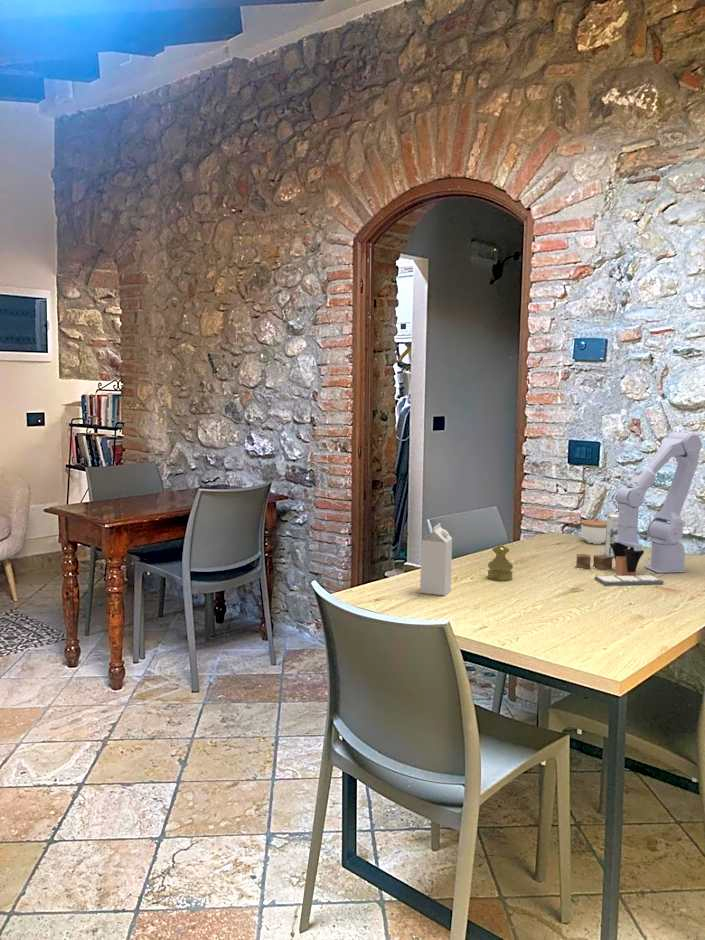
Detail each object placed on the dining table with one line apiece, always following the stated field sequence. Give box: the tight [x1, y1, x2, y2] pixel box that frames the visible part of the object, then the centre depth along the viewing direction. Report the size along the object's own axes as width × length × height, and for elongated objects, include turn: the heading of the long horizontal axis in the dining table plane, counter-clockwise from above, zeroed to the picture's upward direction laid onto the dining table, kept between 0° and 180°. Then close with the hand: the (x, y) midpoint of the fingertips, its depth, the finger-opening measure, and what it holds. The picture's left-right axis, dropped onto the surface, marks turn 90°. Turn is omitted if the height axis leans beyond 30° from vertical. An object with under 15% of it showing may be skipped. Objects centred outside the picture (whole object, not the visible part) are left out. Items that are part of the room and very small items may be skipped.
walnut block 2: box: [592, 554, 613, 571], centre depth 244 cm, size 4×4×4 cm
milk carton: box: [419, 522, 453, 596], centre depth 214 cm, size 7×7×19 cm
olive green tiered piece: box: [487, 544, 514, 582], centre depth 231 cm, size 7×7×10 cm
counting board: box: [594, 574, 665, 587], centre depth 228 cm, size 18×7×1 cm, turn 97°
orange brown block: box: [614, 556, 637, 576], centre depth 238 cm, size 4×4×5 cm
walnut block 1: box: [575, 553, 592, 570], centre depth 245 cm, size 4×4×4 cm
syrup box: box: [604, 513, 619, 558], centre depth 261 cm, size 6×6×14 cm
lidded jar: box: [580, 517, 607, 545], centre depth 284 cm, size 11×11×9 cm
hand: (625, 568), depth 238 cm, fingers open, 7 cm apart
